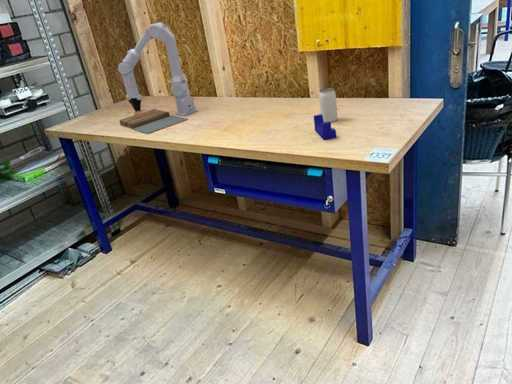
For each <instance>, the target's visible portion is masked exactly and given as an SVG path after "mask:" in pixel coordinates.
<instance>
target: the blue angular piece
mask: <svg viewBox="0 0 512 384" xmlns="http://www.w3.org/2000/svg"><path fill="white" fill-rule="evenodd" d="M313 123H314V124H313V125H314V131H315V132H316V134H317V135H318V136H319V137H320V138H321V139H322V140H323V141H326V140H327V141H328V140H333V139H337V130H336V128H333V127H332V122H324V121H323V115H322V114H316V115H313Z"/></svg>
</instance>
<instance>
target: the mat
mask: <svg viewBox="0 0 512 384" xmlns="http://www.w3.org/2000/svg"><path fill="white" fill-rule="evenodd" d="M188 120H189V118H185V117H182V116H181V117H180V116H176V115H170V116H169V117H166V118H163V119H160V120H157V121H154V122H151V123H148V124H145V125H142V126H139V127H137V128H134V129H132V131H136V132H139V133H143V134H147V135H149V134H153V133H155V132H158V131H161V130H163V129H167V128H169V127H172V126H175V125H177V124H180V123H182V122H185V121H188Z"/></svg>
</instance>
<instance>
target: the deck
mask: <svg viewBox="0 0 512 384" xmlns="http://www.w3.org/2000/svg"><path fill="white" fill-rule="evenodd" d="M150 110H151V114H150V115H147V116H144V117H137V116H135V115H134V114H133V115H132V116H128V117H126V118H125V117H124V118H123V119H122V118H121V119H119V125H120V126H123V127H126V128H129V129H132V130H133V129H134V128H137V127H139V126H142V125H145V124H148V123H151V122H154V121H157V120H160V119H163V118H166V117H169V116H171V115H170V111H166V110H160V109H155V108H153V109H150Z"/></svg>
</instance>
